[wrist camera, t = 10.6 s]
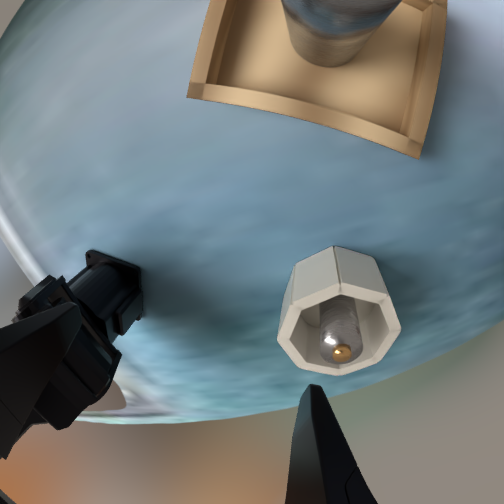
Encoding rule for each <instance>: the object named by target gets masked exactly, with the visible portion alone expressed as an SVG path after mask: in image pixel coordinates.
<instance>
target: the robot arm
mask: <svg viewBox="0 0 504 504" xmlns="http://www.w3.org/2000/svg"><path fill="white" fill-rule="evenodd" d="M85 255H86V264H87V267H85V268H84V269H83V270H82V271H81V272H79V273H78V274H77V275H76V276H75V277H74V278H72V279H71V280H70V281H69V282H68V283H66V282H65V281H66V280H65V278H64V277H63V275H62V276H61V277H59V278H58V279H56V278H54V277H52V276H51V275H48V276H47V277H46V278H45V279H43V280H42V281H41V282H40V283H39V284H37V285H36V286H35V287H34V288H32V289H31V290H30V291H29V292H28V293H27V294H25V295H24V296H23V297H22V298H21V299H20V300H19V306H18V310H17V312H16V314H17V315H16V316H15V317H14V318H13V319H12V322H13V324H10V325H8V326H5V327H3V328H0V459H1V458H4V459H5V460H6V459H7V457H8V455H9V453H10V451H11V449H12V447H13V445H14V444H15V443H16V442H17V441H18V440H19V438H21V436H22V435H23V434H24V433H25V432H26V431H27V430H28V429H29V428H30V427H31V426H32V425H37V424H47V423H49V424H50V425H51V426H53V427H54V428H55V429H56V430H61V429H64V428H67V427H69V426H70V425H71V424H72V422H73V421H74V420H75V419H76V418H77V416H78V415H79V414H80V413H81V412H82V411H83V410H84V409H85V408H87V407H88V406H89V405H92V404H94V403H96V402H97V401H98V400H100V399H101V398H102V397H103V396H104V395H105V393H106V392H107V390H108V389H109V387H110V385H111V383H112V380H113V377H114V375H115V372H116V369H117V367H118V364H119V361H120V359H121V356H122V354H121V352H120V351H119V350H117V349H116V348H115V347H114V346H113V344H112V343H113V342H114V340H115V339H116V338H117V336H118V335H121V336H123V335H124V334H125V333H126V332H127V330H128V329H129V328H130V326H131V325H132V324H133V322H134V321H135V320H137V321H139V320H140V319H141V318H142V311H143V298H142V289H141V271H140V269H139V268H138V267H137V266H134V265H132V264H129V263H126V262H123V261H120V260H117V259H114V258H111V257H109V256H106V255H103V254H100V253H97V252H95V251H92V250H89V251H87V252H86V254H85ZM135 272H136V273H135ZM0 504H16V503H15V502H14V501H12V500H11V499H10V498H9V497H8V496H7V495H6V494H5V493H4V492H3V491H2V490H0ZM285 504H378V503H377V501H376V500H375V498H374V497H373V495H372V493H371V491H370V490H369V488H368V486H367V484H366V482H365V480H364V478H363V476H362V474H361V472H360V469H359V467H358V466H357V463H356V461H355V459H354V456H353V454H352V452H351V450H350V448H349V445H348V443H347V441H346V439H345V437H344V434H343V432H342V430H341V428H340V426H339V423H338V421H337V419H336V417H335V415H334V413H333V411H332V408H331V406H330V404H329V402H328V399H327V397H326V395H325V393H324V391H323V389H322V387H321V386H319V385H315V384H310V385H309V386H308V387H307V389H306V390H305V392H304V393H303V395H302V396H301V399H300V403H299V408H298V413H297V418H296V423H295V427H294V432H293V437H292V445H291V456H290V465H289V474H288V483H287V492H286V499H285Z"/></svg>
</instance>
